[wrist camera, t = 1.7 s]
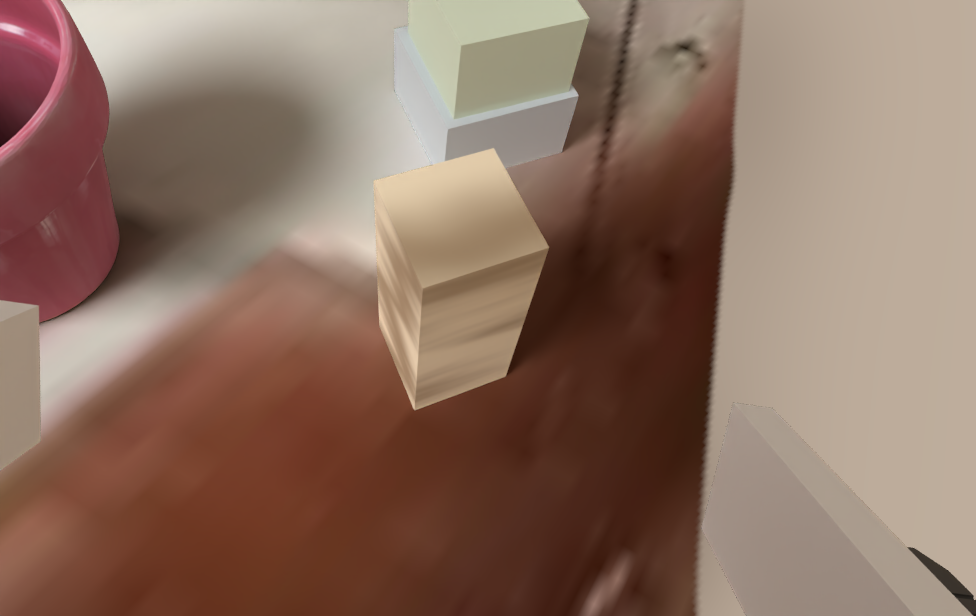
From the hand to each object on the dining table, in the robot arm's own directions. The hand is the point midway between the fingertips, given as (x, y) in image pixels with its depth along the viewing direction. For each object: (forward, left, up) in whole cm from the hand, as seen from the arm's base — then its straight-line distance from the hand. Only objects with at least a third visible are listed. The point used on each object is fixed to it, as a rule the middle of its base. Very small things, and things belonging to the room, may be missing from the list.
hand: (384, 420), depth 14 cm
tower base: (-23, +15, -21) cm, 35 cm away
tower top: (-23, +15, -16) cm, 32 cm away
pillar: (-10, +6, -21) cm, 24 cm away
